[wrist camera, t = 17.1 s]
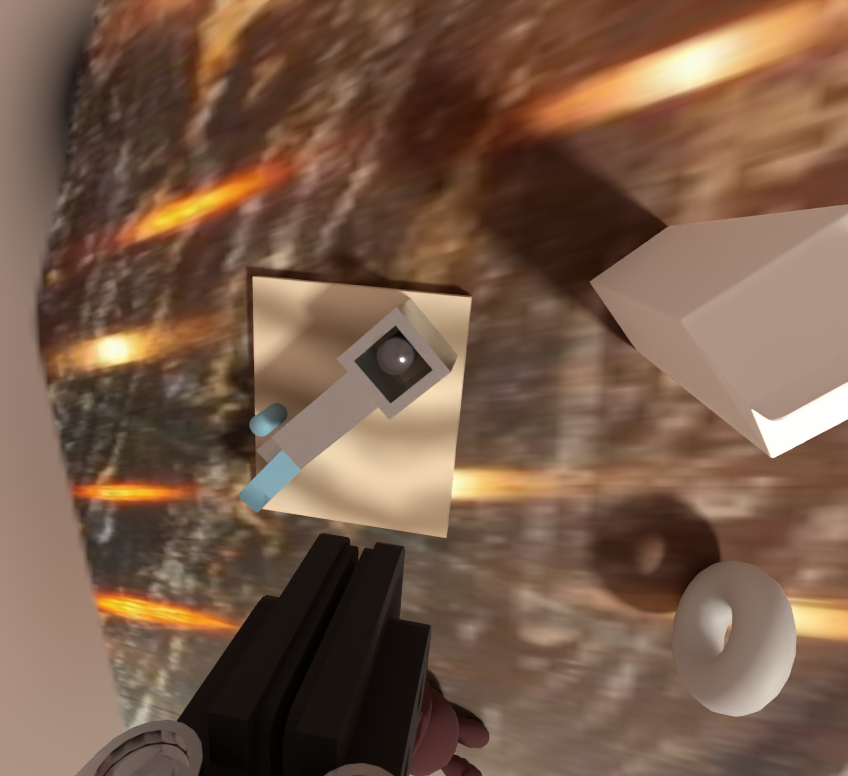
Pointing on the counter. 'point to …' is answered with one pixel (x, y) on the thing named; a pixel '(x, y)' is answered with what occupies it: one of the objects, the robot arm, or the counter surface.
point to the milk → (745, 318)
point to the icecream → (444, 738)
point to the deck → (375, 435)
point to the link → (364, 387)
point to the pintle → (396, 354)
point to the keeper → (276, 470)
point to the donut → (734, 638)
